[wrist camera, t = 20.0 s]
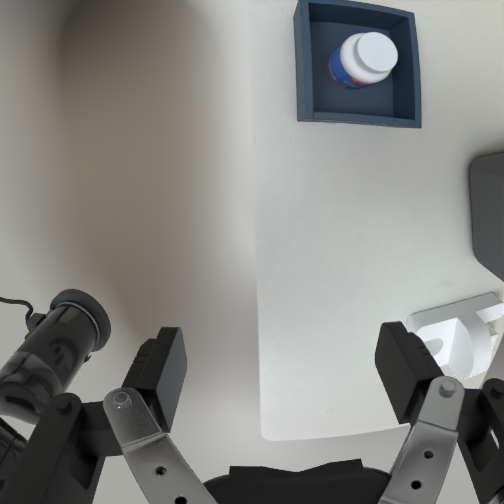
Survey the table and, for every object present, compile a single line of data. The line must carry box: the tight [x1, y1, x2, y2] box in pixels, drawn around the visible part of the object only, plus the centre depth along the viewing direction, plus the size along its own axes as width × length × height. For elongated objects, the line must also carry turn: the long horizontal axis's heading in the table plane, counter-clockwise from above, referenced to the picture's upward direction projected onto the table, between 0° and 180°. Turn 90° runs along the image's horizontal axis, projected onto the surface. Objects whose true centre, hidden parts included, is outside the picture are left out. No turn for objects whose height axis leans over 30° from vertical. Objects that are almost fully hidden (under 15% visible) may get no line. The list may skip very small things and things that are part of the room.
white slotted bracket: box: [406, 293, 504, 380], centre depth 40 cm, size 10×18×11 cm, turn 100°
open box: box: [293, 0, 421, 128], centre depth 29 cm, size 13×14×7 cm
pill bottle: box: [327, 32, 398, 90], centre depth 27 cm, size 6×5×10 cm
